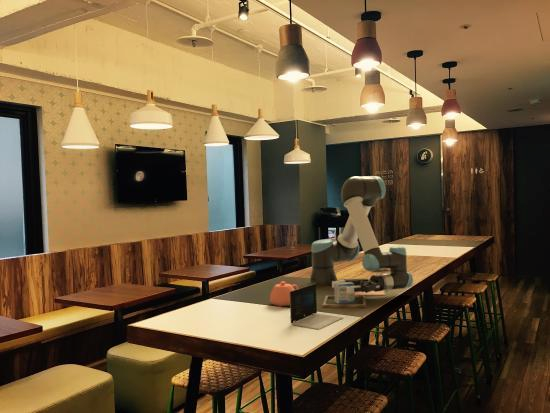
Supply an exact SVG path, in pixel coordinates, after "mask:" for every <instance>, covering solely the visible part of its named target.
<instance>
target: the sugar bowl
mask: <svg viewBox="0 0 550 413" xmlns="http://www.w3.org/2000/svg"><path fill="white" fill-rule="evenodd" d="M294 287H296V288H294ZM296 289H299V285H297V284H290V283H286V281H280V282H279V284H278V283H276V284H275V285H274V286H273V288H272V289H271V292H270V295H269V302H271V304H272V305H274V306H278V307H279V308H282V307H284V306H290V291H293V290H296Z"/></svg>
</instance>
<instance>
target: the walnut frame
mask: <svg viewBox="0 0 550 413" xmlns="http://www.w3.org/2000/svg"><path fill="white" fill-rule="evenodd" d="M328 299H335V295H325V297H324V300H323V302H322V303H323V304H322V308H366V306H367V305H366V295H355V299H362V304H353V303H346V304H338V303H336V304H335V303H333V304H332V303H331V304H329V303H328Z"/></svg>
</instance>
